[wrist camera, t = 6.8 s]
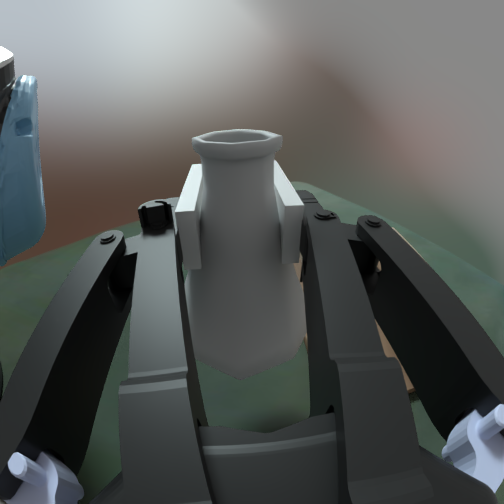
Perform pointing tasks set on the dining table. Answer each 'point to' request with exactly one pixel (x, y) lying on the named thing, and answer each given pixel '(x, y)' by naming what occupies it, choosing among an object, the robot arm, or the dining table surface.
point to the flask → (242, 260)
